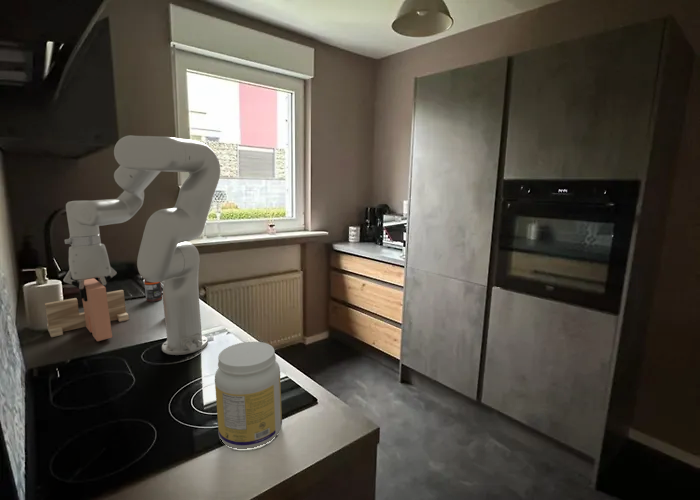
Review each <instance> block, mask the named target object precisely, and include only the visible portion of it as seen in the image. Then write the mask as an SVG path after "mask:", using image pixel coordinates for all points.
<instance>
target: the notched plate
mask: <svg viewBox="0 0 700 500" xmlns="http://www.w3.org/2000/svg"><path fill="white" fill-rule="evenodd" d="M84 287H85V289H86V294H87V301H84V300H83V299H81V301H82V307H83V312H84V314H85V321H86V327H85V328H86V329H87V330H88V331H89V333H92V336H93V338H94V339H95V340H96V342H100V341H104V340H107V339H111V338H113V332H112V325H111V321H110V316H109V309H108V301H107V294H106V292H107V287H105V286H103V285H102V284H101V283H100V281H99V280H97V279H96V278H91V279H85V280H84Z"/></svg>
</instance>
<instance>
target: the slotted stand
mask: <svg viewBox="0 0 700 500" xmlns="http://www.w3.org/2000/svg"><path fill="white" fill-rule="evenodd" d="M124 291H125V290H123V289H119V290H113V291H106V293H107V301H108V309H109V316H110V322H114V321H118V323H121V322H126V321H128V320H130V318H129V317H130V315H129V313H128V312H127V309H126V301H125V300H126V299H125V292H124ZM78 302H79V301H78V299H77V297H74V298H73V297H72V298H68V299H62V300H61V299H60V300H57V301H56V300H55V301H51V302H45V303H44V308H45V313H46V321H47V324H46V326H47V331H48V334H49V335H50V337H51V338H54V337H59V336H63V335H64V332H67V331H72V330H76V329H81V328H87V327H86V321H85V314H84V311H82V312H80V311H79V310H80V309H79V303H78Z"/></svg>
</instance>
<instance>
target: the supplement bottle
mask: <svg viewBox="0 0 700 500" xmlns="http://www.w3.org/2000/svg"><path fill="white" fill-rule="evenodd" d="M143 281H144V291H145V299H146V301H147V302H151V303H153V302H158V301H161V300H163V289H162V281H161V282H149V281H146V280H145V279H143Z"/></svg>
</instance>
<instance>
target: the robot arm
mask: <svg viewBox="0 0 700 500" xmlns="http://www.w3.org/2000/svg"><path fill="white" fill-rule="evenodd" d="M113 149H114V150H113V155H114V159H115V161H116V162H117V163H118V165H119V166H118V167H117V169H116V170H115V171H114V173H113V178H114V181H115V183H116V184H117V185H118V187H120V188H121V189H122V190H123V191H122V192H121V193H120V194H119V195H118V197H117V198H110V199H96V200H72V201H70V200H69V201H67V203H65V210H66V218H67V224H68V232H69V238H66V239H64V244H65V245H71V246H69V247H68V269H69V270H68V271H67V273H66V274H65V276H64V278H63V282H64V283H66V284H69V285H72V286H74V287H76V288H77V289H79V295H80V299H81V300H82V299H83V300H84V301H87V294H86V289H85V287H84V280H86V279H92V278H94V279H96V278H98V281H99V283H101V284H102V285H103V286H105V287H106V285H107V284H108V282H109V281H110V280H111V279H112V278H113V277H115V276H116V275H117V274H118V273H117V271H116V270H115V269H114V268H113V267H112V266H111V264H110V259H109V255H108V251H107V248H106V245H105V244H104V243H102V241H101V234H100V226H101V227H102V226H107V225H116V224H117V225H118V224H122V223H125V222H127V221H129V220H130V219H132V218H133V217H134V216H135V215H136V214H137V213H138V211H139V210H140V209H141V208H142V207H143V204H144V199H145V190H146V188H147V187H148V186H150V184H151V183H152V182H153V181H154V180H155V179H156V177H157V176H158V175H159V174H160V173H161V172H165V173H166V172H168V173H169V172H170V173H172V172H173V173H188V174H189V175H188V176H187V178H186V179H185V181H184V182H183V183H182V184H181V187H180V189H179V192H178V196H177V199H176V202H175V205H174V206H173V207H170V208H161V209H159V210H156V211H154V212H153V213H152V214H151V215H150V217H148V219H147V221H146V224H145V227H144V230H143V235H142V237H141V238H142V239H141V242H140V245H139V250H138V255H137V259H136V261H137V262H136V266H137V271H138V273H139V275H140V277H141V278H143V280H146V281H149V282H161V283H162V282H163V286H162V302H163V301H164V305H163V312H164V311H165V315H164V320H165V330H166V331H165V332H166V341H164V342H163V343H162V345H161V351H162V352H163V353H164V354H166V355H170V356H171V355H172V356H174V355H175V356H179V355H180V356H181V355H188V354H192V353H196V352H198V351H200V349H201V350H203V349H204V348H205V347H206V346H207V345H208V341H209V340H208V339H209V338H208V337H206V335H203V332H202V322H201V320H202V319H201V309H200V307H201V306H200V293H199V290H200V289H199V269H200V263H201V261H200V260H201V259H200V253H199V250H198V248H197V247H196V246H195V245H194V244H193V243H192V242H190V241H195V240H197V239H198V238H200V236H201V235H202V234H203V232H204V229H205V225H206V223H207V218H208V215H209V212H210V208H211V205H212V202H213V198H214V194H215V193H216V190H217V187H218V184H219V181H220V177H221V165H220V161H219V157H218V156H217V154H216V152H215V151H214V150H213V149H212V148H211V147H210V146H208V145H207V144H205V143H203V142H201V141H196V140H193V139H187V138H179V137H172V136H171V137H170V136H154V135H153V136H152V135H133V134H132V135H125V136H123V137H121V138H120V139H119V140H118V141H116V144H115V146H114V148H113ZM106 288H107V287H106ZM106 294H107V293H106Z"/></svg>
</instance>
